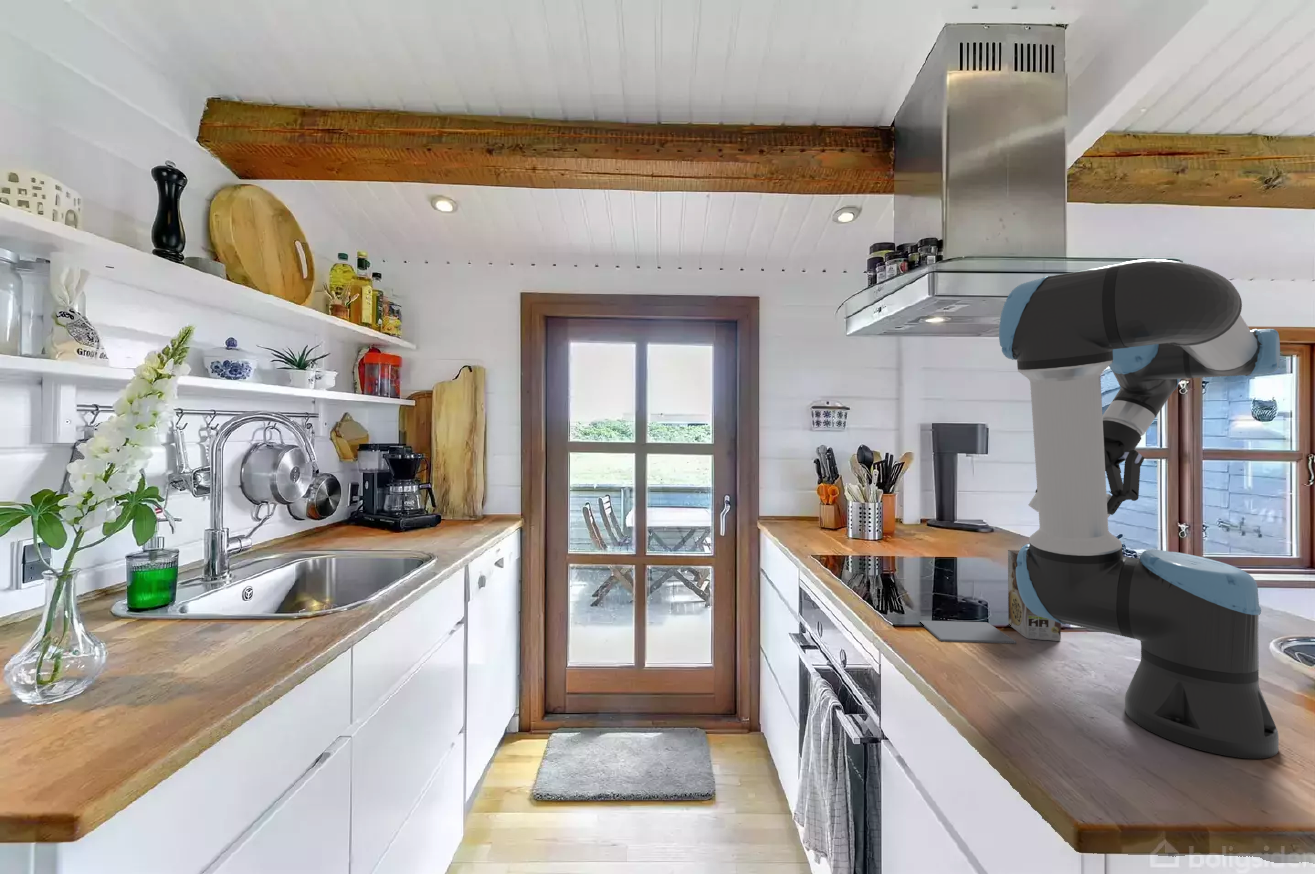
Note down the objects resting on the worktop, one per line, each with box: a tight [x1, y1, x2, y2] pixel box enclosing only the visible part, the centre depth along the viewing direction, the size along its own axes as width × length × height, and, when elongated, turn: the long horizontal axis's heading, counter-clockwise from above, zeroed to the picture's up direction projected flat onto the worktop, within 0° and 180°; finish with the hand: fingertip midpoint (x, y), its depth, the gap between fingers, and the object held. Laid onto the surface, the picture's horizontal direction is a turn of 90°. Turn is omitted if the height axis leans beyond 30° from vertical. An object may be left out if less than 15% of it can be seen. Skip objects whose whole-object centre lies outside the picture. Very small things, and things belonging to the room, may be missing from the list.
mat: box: [918, 620, 1017, 644], centre depth 114 cm, size 14×11×1 cm
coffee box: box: [1007, 549, 1062, 642], centre depth 114 cm, size 9×6×16 cm
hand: (1061, 517), depth 112 cm, fingers open, 13 cm apart
